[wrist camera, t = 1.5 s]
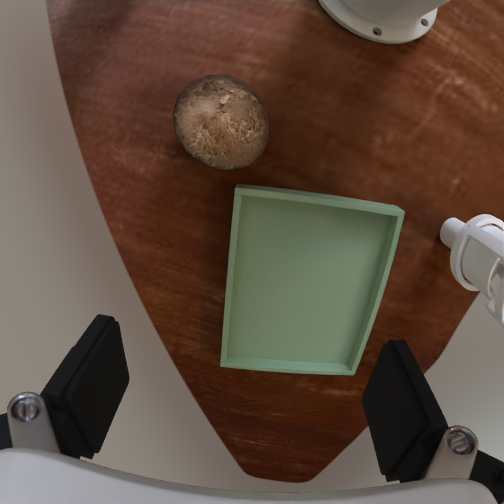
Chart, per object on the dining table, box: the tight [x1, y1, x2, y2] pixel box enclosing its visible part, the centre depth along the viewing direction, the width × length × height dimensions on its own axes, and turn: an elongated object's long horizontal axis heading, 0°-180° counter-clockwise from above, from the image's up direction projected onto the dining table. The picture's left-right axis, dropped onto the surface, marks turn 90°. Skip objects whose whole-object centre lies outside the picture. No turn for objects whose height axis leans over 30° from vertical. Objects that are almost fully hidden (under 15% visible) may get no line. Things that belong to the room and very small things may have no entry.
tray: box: [220, 183, 405, 375], centre depth 31 cm, size 19×15×2 cm
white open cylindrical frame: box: [440, 214, 504, 328], centre depth 22 cm, size 7×7×15 cm
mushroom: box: [173, 75, 270, 170], centre depth 24 cm, size 8×8×6 cm
